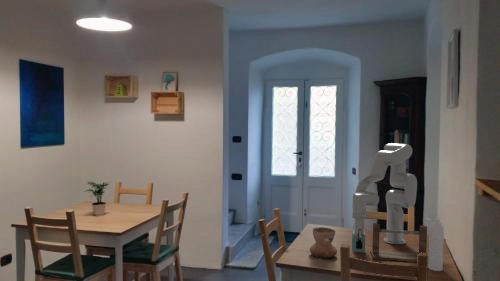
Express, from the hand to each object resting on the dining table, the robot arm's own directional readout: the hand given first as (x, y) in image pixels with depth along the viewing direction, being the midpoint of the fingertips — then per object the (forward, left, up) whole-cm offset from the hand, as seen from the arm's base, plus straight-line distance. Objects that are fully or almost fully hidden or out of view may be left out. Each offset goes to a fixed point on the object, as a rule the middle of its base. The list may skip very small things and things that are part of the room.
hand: (358, 246), depth 227 cm
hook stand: (+9, +20, -2) cm, 22 cm away
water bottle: (+24, +33, -2) cm, 41 cm away
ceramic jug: (+13, -20, -2) cm, 24 cm away
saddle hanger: (0, 0, -2) cm, 2 cm away
